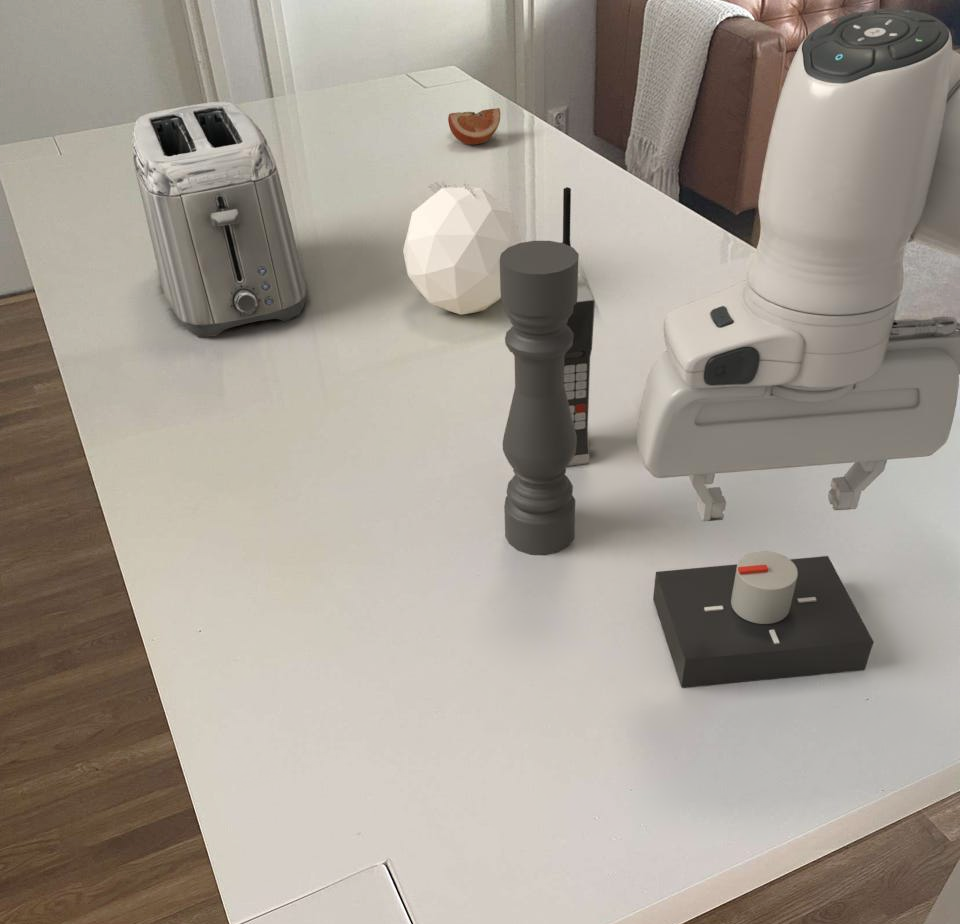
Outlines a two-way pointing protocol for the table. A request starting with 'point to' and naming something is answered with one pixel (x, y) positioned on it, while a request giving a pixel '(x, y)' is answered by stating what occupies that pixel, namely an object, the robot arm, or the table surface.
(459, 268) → the geodesic sphere
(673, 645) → the timer panel
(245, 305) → the toaster
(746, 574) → the timer knob
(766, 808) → the table surface
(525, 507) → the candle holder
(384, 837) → the table surface
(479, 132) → the fruit slice
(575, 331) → the vintage mobile phone
